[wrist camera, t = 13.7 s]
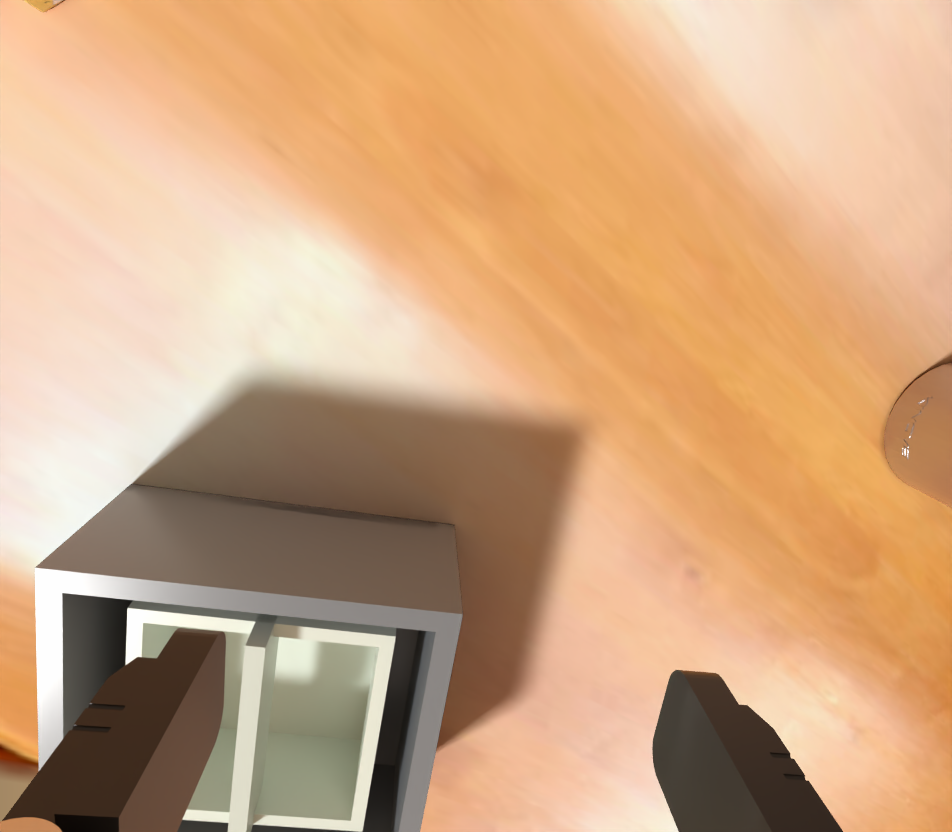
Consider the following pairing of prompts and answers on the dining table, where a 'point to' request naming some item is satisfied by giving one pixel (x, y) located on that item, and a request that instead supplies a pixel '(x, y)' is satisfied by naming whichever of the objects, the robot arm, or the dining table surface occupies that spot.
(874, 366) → the dining table surface
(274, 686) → the small crate
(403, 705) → the big crate
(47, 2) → the candy box
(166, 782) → the robot arm
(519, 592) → the dining table surface
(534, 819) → the dining table surface
